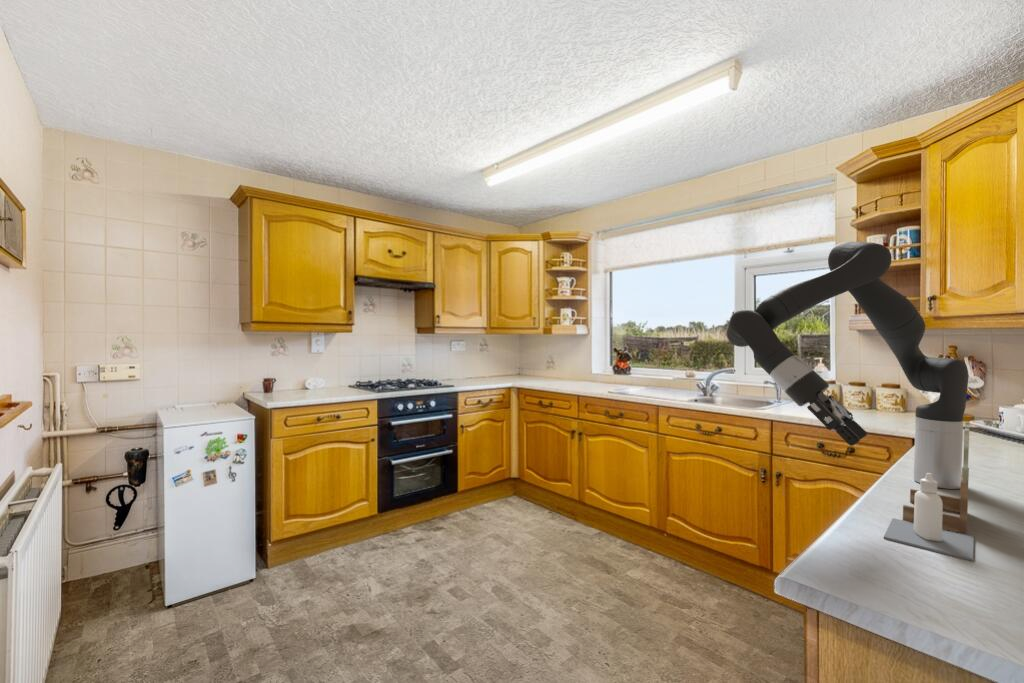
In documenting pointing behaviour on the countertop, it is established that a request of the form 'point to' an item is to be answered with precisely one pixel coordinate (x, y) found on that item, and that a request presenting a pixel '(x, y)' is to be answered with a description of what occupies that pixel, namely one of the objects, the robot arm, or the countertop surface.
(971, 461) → the countertop surface
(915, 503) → the eye dropper bottle
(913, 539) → the slate mat
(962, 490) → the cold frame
